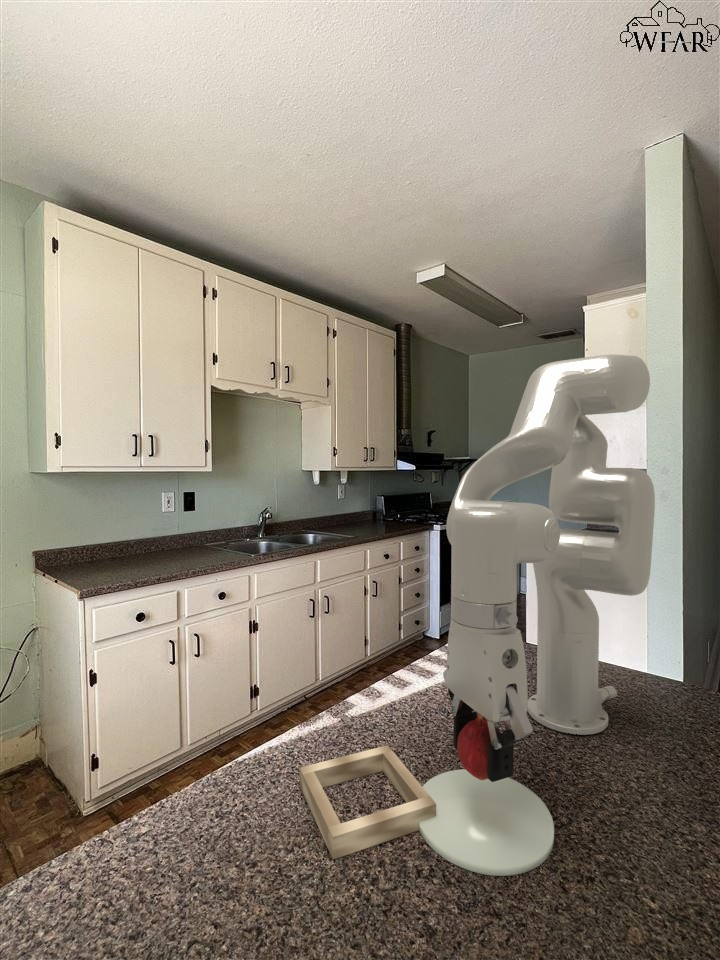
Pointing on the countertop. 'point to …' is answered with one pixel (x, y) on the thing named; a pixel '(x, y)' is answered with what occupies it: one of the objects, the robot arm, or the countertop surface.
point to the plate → (487, 824)
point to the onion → (475, 747)
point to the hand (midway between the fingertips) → (482, 759)
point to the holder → (375, 825)
